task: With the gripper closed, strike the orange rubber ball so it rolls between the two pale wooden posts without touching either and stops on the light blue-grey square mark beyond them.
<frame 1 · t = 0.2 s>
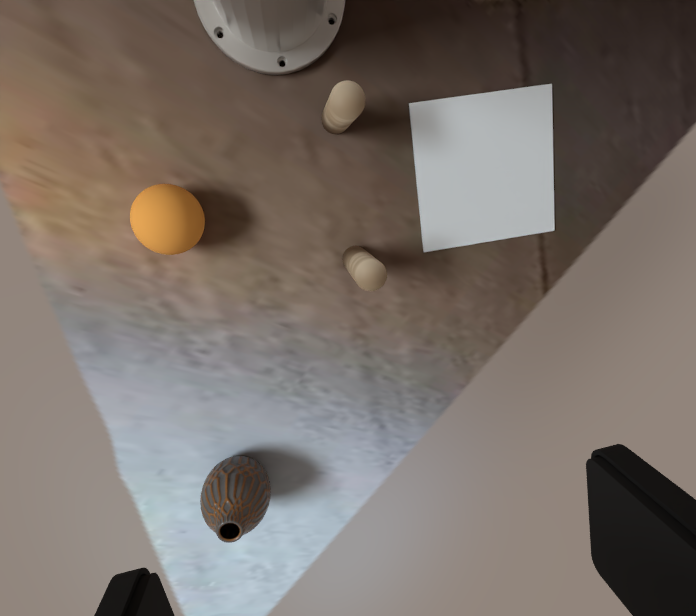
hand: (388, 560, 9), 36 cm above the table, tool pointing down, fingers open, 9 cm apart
ball: (168, 219, 39), on the table
vase: (240, 472, 49), on the table
post 2: (335, 119, 41), on the table
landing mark: (485, 170, 44), on the table
post 1: (355, 258, 45), on the table
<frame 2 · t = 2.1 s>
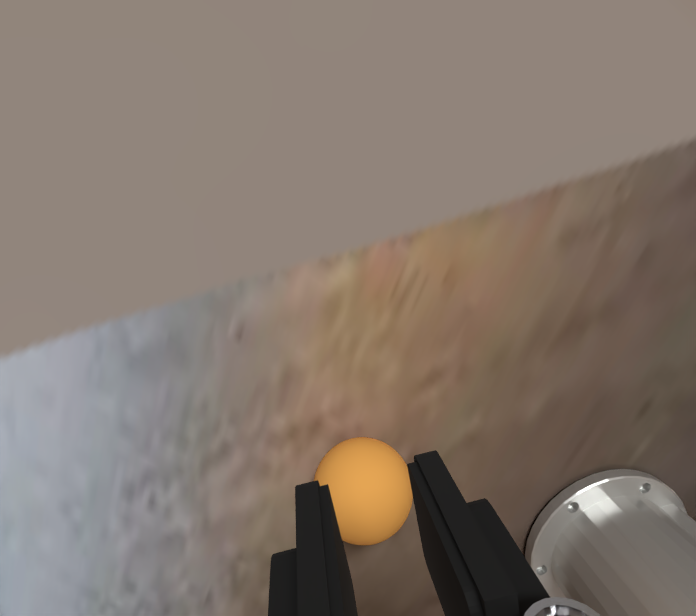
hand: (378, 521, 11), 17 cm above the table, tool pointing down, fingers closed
ball: (362, 489, 27), on the table
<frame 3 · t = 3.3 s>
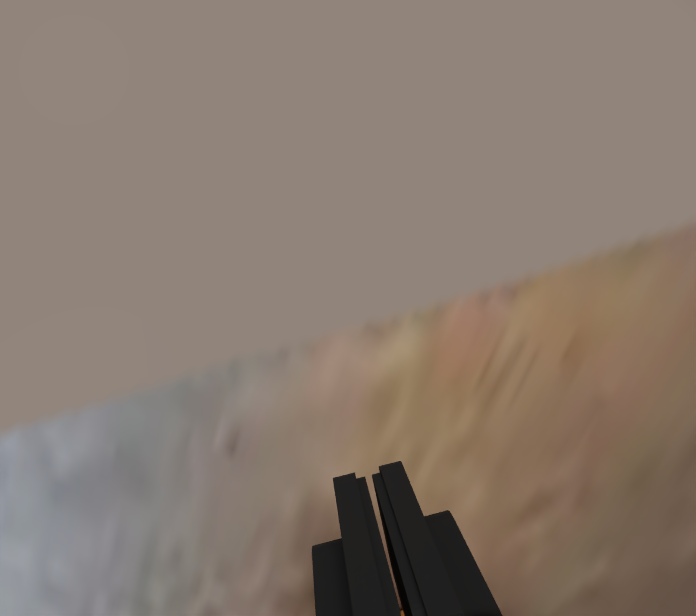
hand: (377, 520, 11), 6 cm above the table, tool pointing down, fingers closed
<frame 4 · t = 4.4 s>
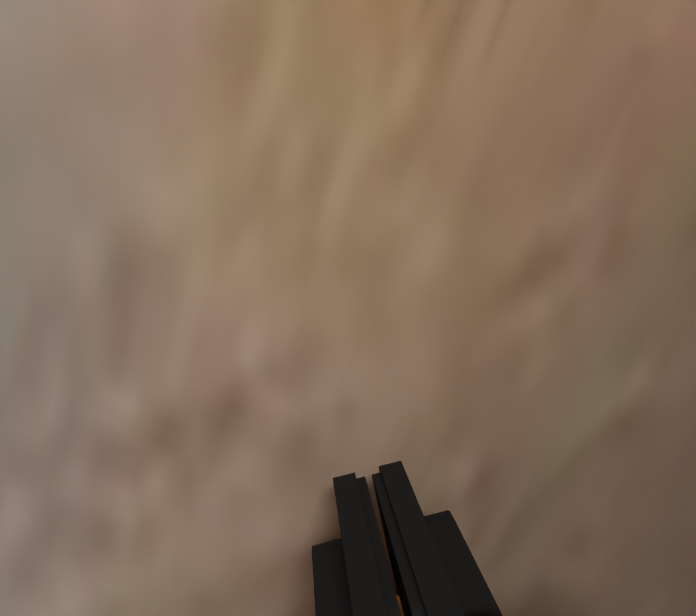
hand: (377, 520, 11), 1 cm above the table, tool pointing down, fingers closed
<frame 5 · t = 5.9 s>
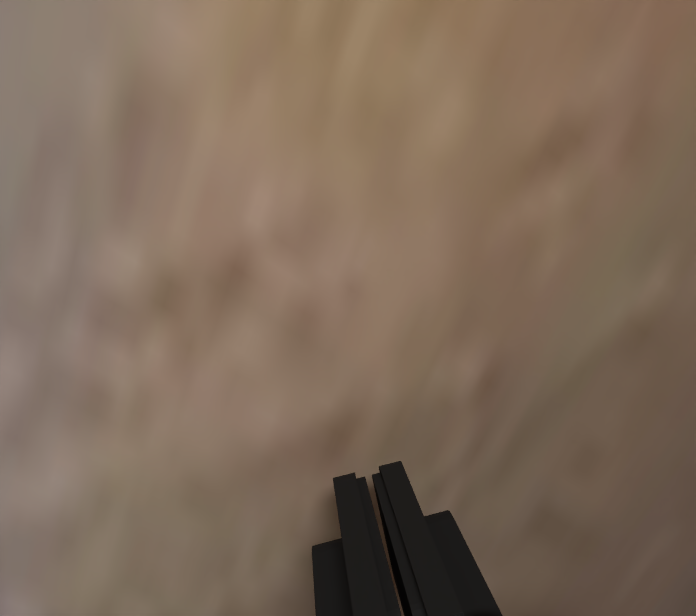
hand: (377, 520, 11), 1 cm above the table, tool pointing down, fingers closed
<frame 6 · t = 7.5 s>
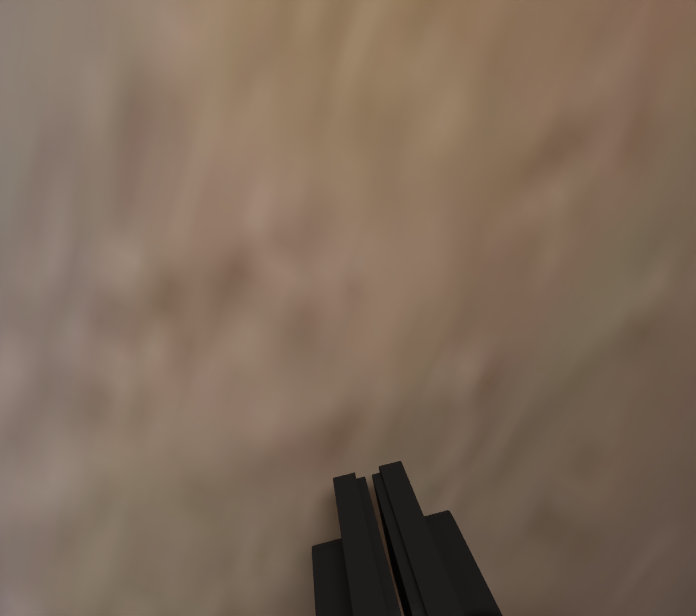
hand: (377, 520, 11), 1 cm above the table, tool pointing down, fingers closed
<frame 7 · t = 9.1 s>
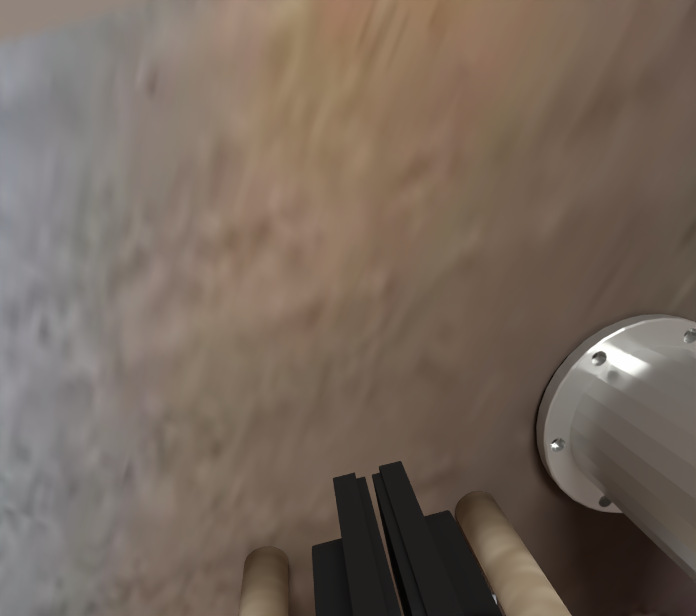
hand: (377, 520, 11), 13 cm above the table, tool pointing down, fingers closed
post 2: (475, 509, 27), on the table
post 1: (266, 564, 27), on the table
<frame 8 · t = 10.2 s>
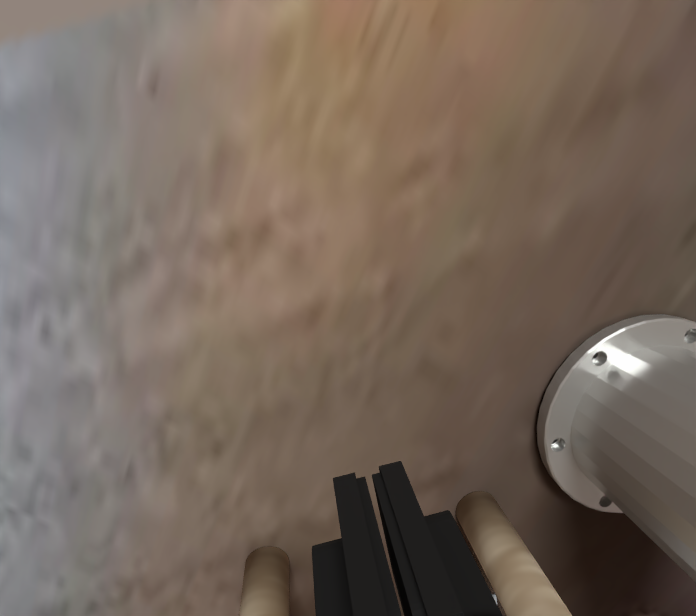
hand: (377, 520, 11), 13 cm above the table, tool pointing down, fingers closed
post 2: (476, 509, 28), on the table
post 1: (267, 564, 27), on the table
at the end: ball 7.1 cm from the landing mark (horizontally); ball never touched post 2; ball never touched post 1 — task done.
